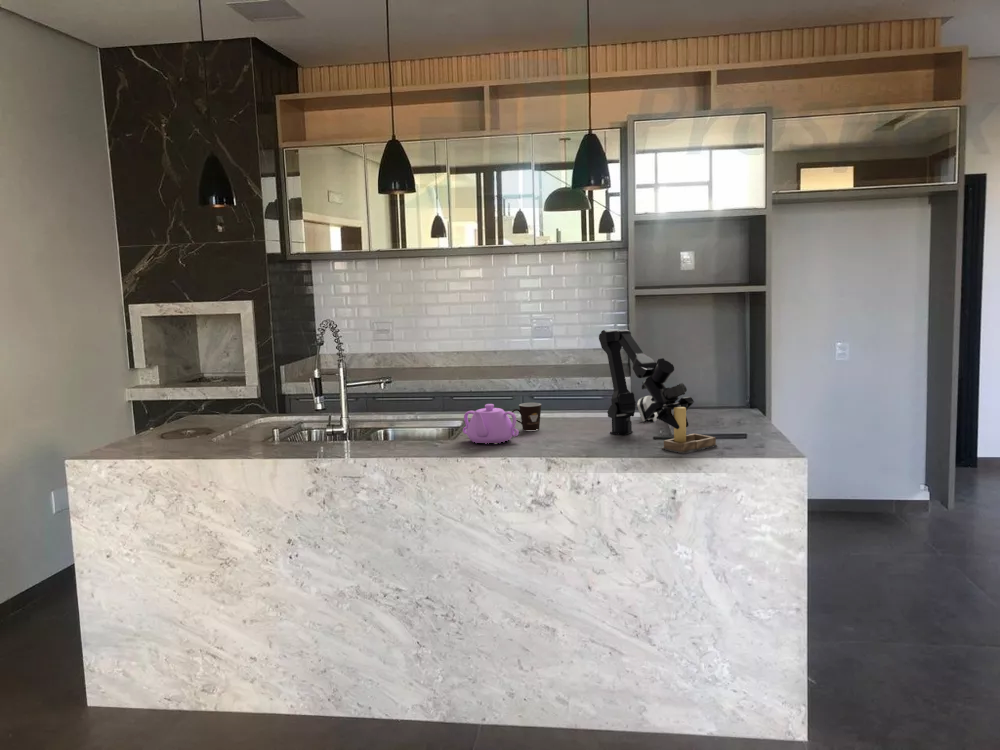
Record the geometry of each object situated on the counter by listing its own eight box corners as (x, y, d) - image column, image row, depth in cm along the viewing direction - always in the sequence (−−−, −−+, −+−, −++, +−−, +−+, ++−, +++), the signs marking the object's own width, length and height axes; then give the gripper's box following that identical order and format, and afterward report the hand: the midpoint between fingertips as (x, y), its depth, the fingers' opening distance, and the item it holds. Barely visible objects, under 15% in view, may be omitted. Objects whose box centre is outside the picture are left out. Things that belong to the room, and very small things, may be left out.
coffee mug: (542, 427, 307) (541, 402, 306) (541, 431, 299) (540, 406, 297) (513, 427, 308) (512, 403, 307) (511, 432, 300) (510, 406, 299)
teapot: (448, 448, 277) (447, 410, 276) (471, 435, 298) (470, 399, 296) (506, 450, 270) (505, 411, 268) (526, 437, 290) (525, 401, 288)
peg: (671, 445, 262) (671, 407, 261) (680, 444, 264) (680, 406, 263) (679, 447, 259) (679, 409, 257) (688, 446, 261) (688, 408, 259)
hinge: (654, 421, 310) (646, 398, 310) (643, 425, 312) (634, 402, 312) (662, 414, 325) (654, 391, 325) (651, 417, 327) (643, 395, 327)
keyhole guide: (683, 453, 256) (683, 444, 255) (661, 448, 264) (661, 440, 263) (716, 446, 265) (716, 437, 264) (694, 441, 273) (694, 433, 272)
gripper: (650, 379, 256) (676, 416, 249) (689, 373, 267) (715, 409, 259) (634, 400, 264) (658, 436, 256) (672, 393, 274) (697, 428, 267)
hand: (683, 427), depth 260 cm, fingers closed on peg, 4 cm apart
